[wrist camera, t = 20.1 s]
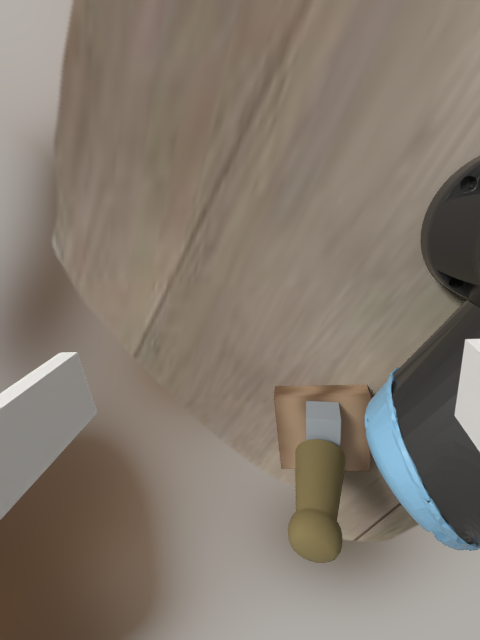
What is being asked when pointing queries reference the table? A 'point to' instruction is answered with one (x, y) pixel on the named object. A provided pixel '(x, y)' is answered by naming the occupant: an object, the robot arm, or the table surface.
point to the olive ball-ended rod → (317, 501)
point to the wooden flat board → (351, 411)
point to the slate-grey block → (323, 421)
